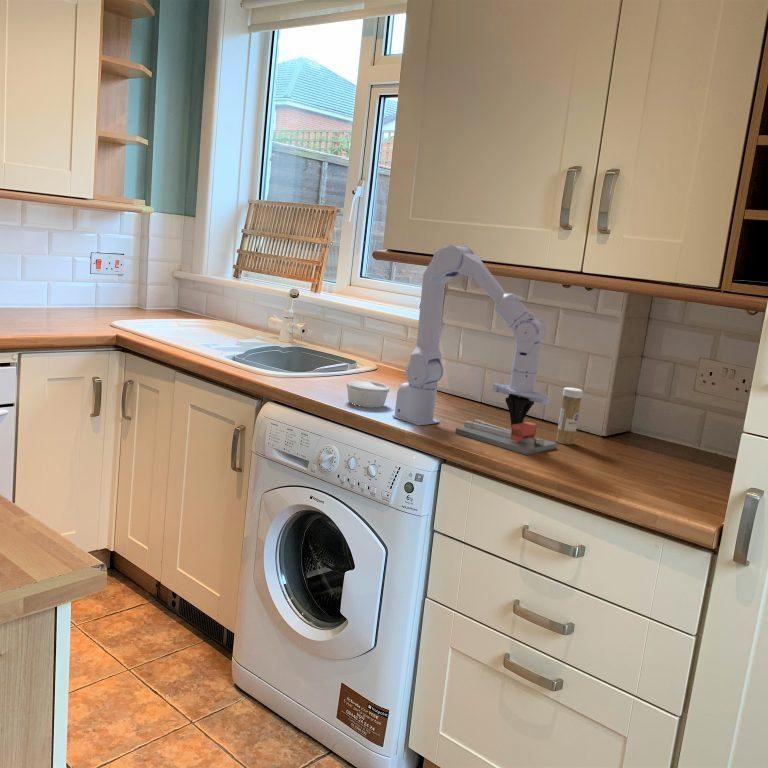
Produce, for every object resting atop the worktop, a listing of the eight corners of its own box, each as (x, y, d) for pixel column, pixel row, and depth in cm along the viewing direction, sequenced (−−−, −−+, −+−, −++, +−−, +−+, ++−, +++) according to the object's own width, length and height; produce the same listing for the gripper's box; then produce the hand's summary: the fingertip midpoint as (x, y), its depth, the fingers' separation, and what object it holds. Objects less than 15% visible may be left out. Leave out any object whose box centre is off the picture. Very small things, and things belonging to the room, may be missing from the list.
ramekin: (395, 406, 215) (397, 387, 214) (369, 411, 206) (372, 391, 206) (362, 398, 222) (364, 379, 221) (336, 401, 213) (338, 382, 212)
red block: (510, 439, 186) (512, 424, 186) (526, 436, 191) (528, 421, 191) (519, 441, 185) (521, 426, 184) (534, 438, 190) (537, 424, 189)
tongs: (463, 426, 196) (464, 420, 196) (476, 424, 200) (477, 418, 200) (536, 447, 183) (537, 441, 182) (548, 445, 186) (549, 439, 186)
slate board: (455, 433, 193) (455, 428, 193) (486, 427, 203) (487, 423, 202) (526, 455, 180) (527, 449, 180) (556, 448, 190) (556, 443, 189)
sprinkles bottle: (571, 446, 193) (580, 391, 191) (552, 442, 196) (561, 387, 193) (576, 443, 197) (585, 389, 195) (558, 439, 200) (567, 385, 197)
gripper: (488, 365, 188) (480, 422, 191) (542, 378, 179) (533, 437, 181) (505, 364, 194) (497, 419, 196) (558, 376, 184) (549, 434, 187)
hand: (515, 428), depth 189 cm, fingers closed
